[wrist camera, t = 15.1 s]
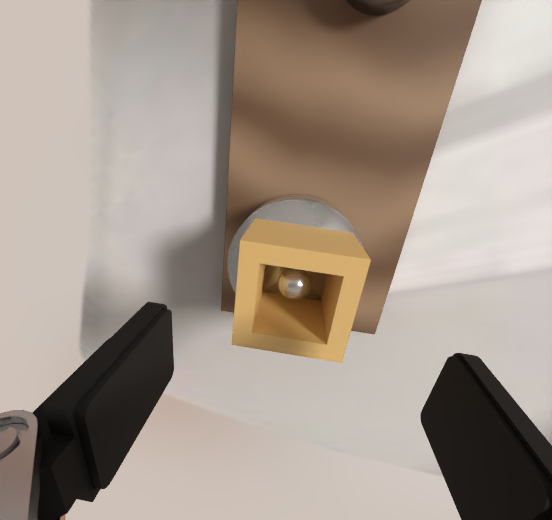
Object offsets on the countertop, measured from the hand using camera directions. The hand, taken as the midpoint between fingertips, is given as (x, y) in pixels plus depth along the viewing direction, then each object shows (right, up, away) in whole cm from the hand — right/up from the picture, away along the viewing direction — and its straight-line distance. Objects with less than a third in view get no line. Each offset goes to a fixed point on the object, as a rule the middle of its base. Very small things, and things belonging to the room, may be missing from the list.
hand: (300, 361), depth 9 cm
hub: (+1, +4, +11) cm, 12 cm away
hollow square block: (+1, +3, +8) cm, 9 cm away
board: (+3, +12, +9) cm, 16 cm away
